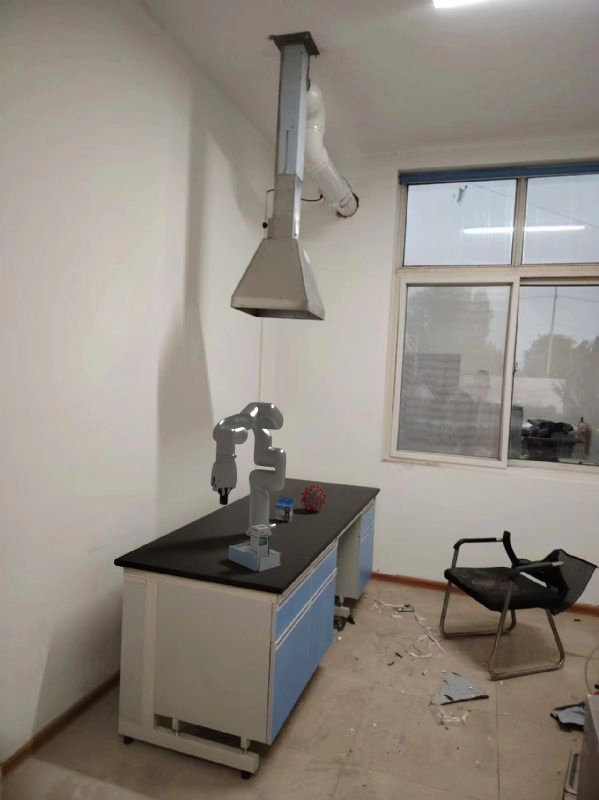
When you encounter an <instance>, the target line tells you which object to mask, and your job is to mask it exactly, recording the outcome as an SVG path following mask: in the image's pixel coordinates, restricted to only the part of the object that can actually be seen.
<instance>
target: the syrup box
mask: <svg viewBox="0 0 599 800" xmlns="http://www.w3.org/2000/svg"><path fill="white" fill-rule="evenodd" d="M270 531H271V529H270V527H268V526H266V525H263V524H262V525H257V526H251V537H250V541H251V545H250V554H252V555H255V556H257V557H258V561H259V558H262V557H266V556H269V549H271V548H270V547H271V546H270V545H271V544H270V542H271V540H270V539H271V535H270Z"/></svg>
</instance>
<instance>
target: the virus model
mask: <svg viewBox="0 0 599 800" xmlns="http://www.w3.org/2000/svg"><path fill="white" fill-rule="evenodd" d="M303 491H304V492H301V496H302V497H301V498H300V502H301V503H302V505H303V507H304V508H305V509H307V511H312V510H314V512H316V511H318V510H322V508H323V507H324V505H325V504H326V502H327V501H325V499H326V497H327V495H326V493H324V490H323V488H322V487H319V486H318V485H315V484H313V485H311V486H306V487H305V489H304V490H303ZM323 504H324V505H323Z"/></svg>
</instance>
